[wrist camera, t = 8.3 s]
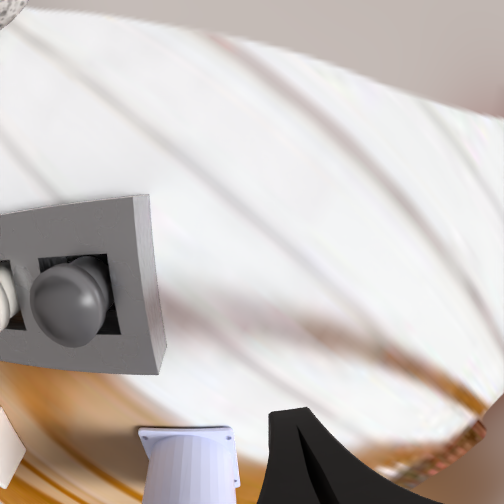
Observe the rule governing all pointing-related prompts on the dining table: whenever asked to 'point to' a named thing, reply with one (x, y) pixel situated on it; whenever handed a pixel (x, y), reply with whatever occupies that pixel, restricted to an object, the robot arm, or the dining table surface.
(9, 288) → the ivory key
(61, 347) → the key console
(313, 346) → the dining table surface
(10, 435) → the medicine bottle
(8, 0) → the mug
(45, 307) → the grey rounded knob
